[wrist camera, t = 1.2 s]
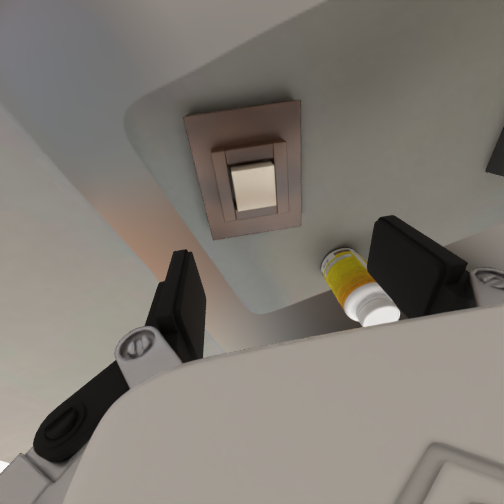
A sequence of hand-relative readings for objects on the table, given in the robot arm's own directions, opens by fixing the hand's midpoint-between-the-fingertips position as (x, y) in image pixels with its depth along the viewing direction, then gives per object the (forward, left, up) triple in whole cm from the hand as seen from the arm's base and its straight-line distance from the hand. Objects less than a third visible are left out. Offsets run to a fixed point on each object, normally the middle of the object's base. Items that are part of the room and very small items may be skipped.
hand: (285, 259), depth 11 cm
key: (0, 0, -13) cm, 13 cm away
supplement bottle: (+14, +11, -16) cm, 24 cm away
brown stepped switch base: (0, 0, -16) cm, 16 cm away
